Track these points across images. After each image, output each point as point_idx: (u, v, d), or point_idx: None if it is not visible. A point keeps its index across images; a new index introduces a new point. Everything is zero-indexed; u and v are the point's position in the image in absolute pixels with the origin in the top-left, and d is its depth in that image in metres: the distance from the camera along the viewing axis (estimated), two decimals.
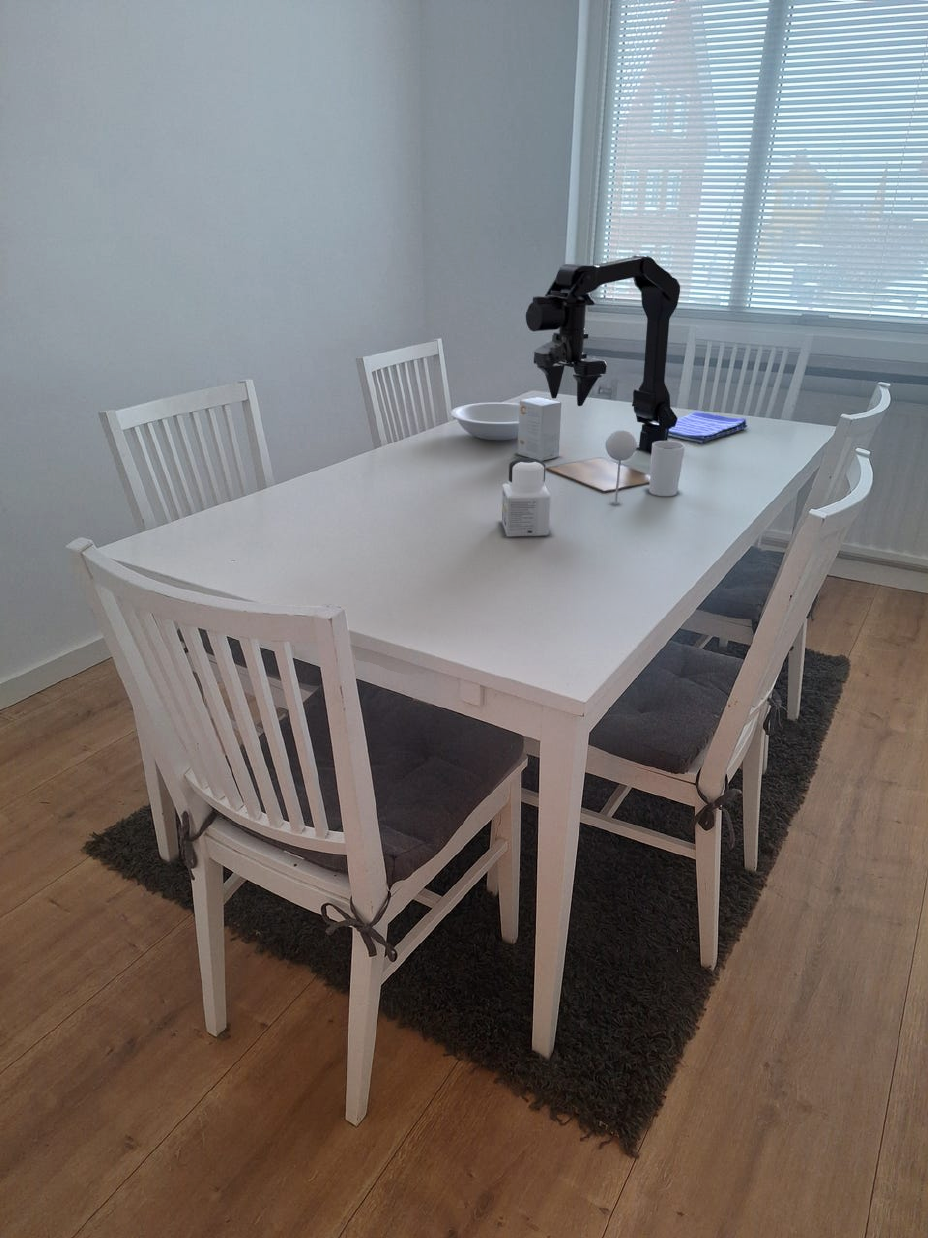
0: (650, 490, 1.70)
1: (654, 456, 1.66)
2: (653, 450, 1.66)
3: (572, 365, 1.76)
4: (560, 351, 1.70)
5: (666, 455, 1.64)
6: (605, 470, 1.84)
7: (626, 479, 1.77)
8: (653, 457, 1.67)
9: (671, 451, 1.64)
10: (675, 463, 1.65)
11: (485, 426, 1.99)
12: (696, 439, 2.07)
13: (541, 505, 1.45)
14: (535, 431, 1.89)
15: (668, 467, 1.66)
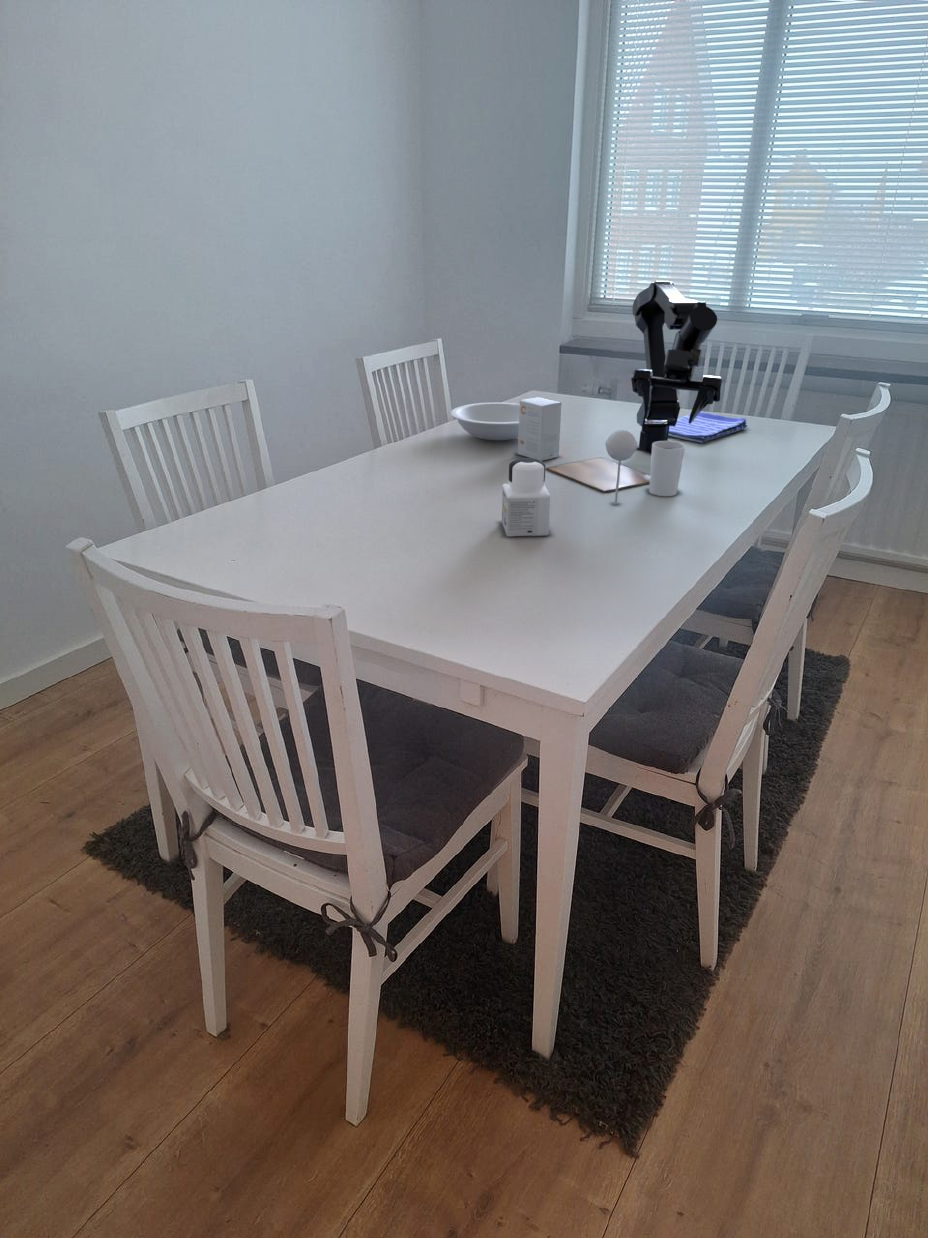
0: (650, 490, 1.70)
1: (654, 456, 1.66)
2: (653, 450, 1.66)
3: (684, 385, 1.72)
4: (700, 356, 1.67)
5: (666, 455, 1.64)
6: (605, 470, 1.84)
7: (626, 479, 1.77)
8: (653, 457, 1.67)
9: (671, 451, 1.64)
10: (675, 463, 1.65)
11: (485, 426, 1.99)
12: (696, 439, 2.07)
13: (541, 505, 1.45)
14: (535, 431, 1.89)
15: (668, 467, 1.66)
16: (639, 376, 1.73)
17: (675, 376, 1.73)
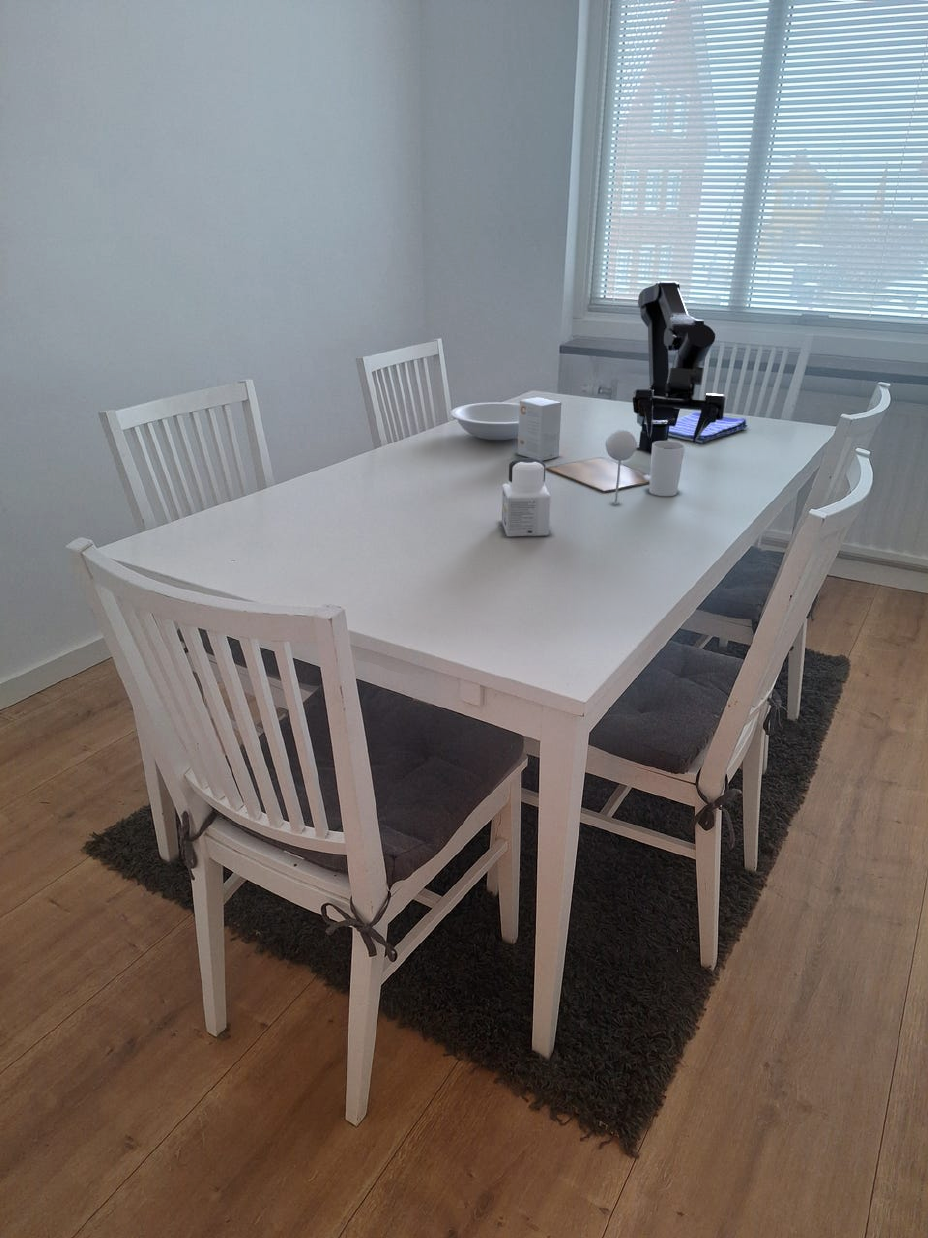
0: (650, 490, 1.70)
1: (654, 456, 1.66)
2: (653, 450, 1.66)
3: (686, 404, 1.71)
4: (702, 374, 1.66)
5: (666, 455, 1.64)
6: (605, 470, 1.84)
7: (626, 479, 1.77)
8: (653, 457, 1.67)
9: (671, 451, 1.64)
10: (675, 463, 1.65)
11: (485, 426, 1.99)
12: None
13: (541, 505, 1.45)
14: (535, 431, 1.89)
15: (668, 467, 1.66)
16: (641, 396, 1.71)
17: (676, 395, 1.71)
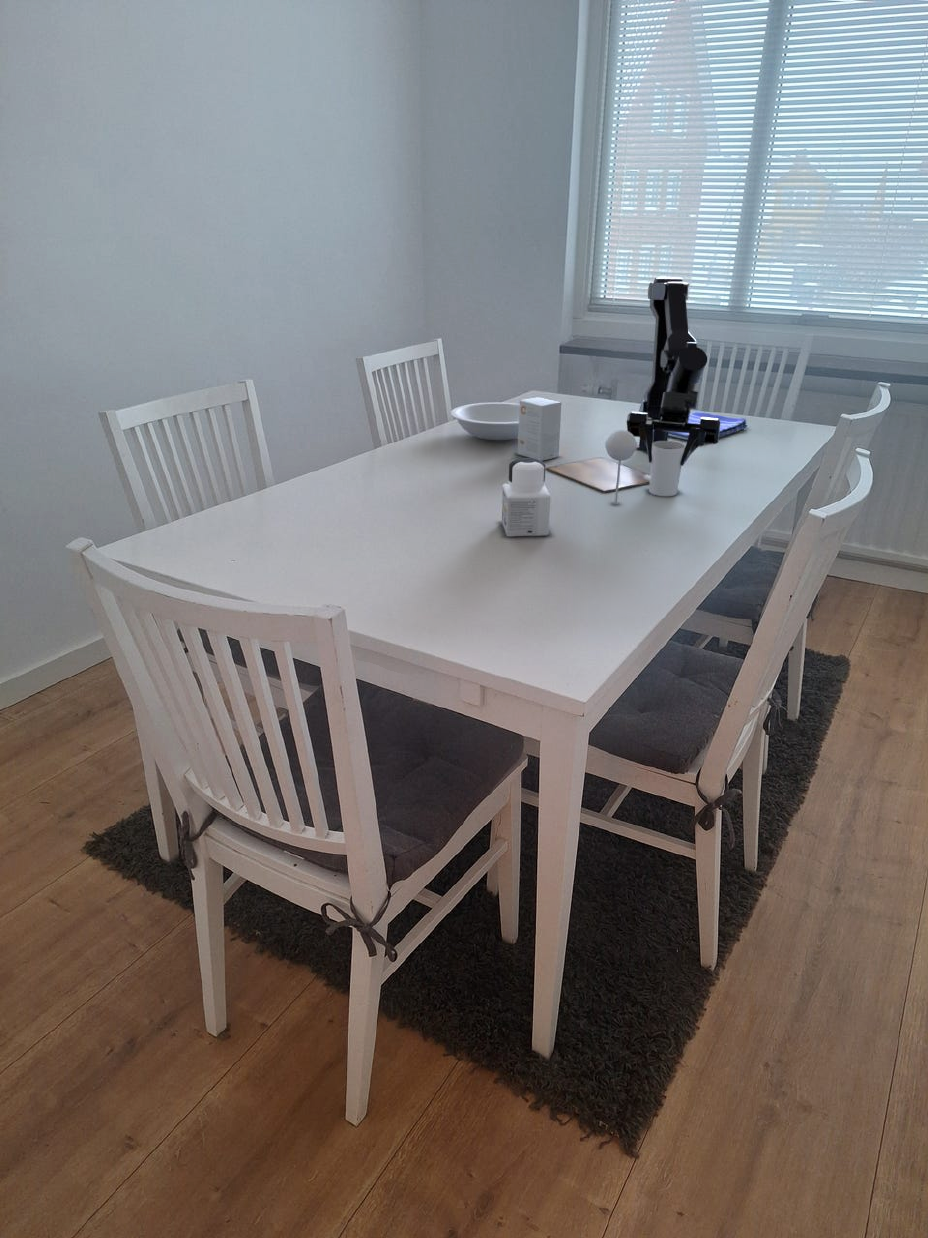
0: (650, 490, 1.70)
1: (654, 456, 1.66)
2: (653, 450, 1.66)
3: (674, 427, 1.69)
4: (697, 398, 1.63)
5: (666, 455, 1.64)
6: (605, 470, 1.84)
7: (626, 479, 1.77)
8: (653, 457, 1.67)
9: (671, 451, 1.64)
10: (675, 463, 1.65)
11: (485, 426, 1.99)
12: None
13: (541, 505, 1.45)
14: (535, 431, 1.89)
15: (668, 467, 1.66)
16: (635, 419, 1.69)
17: (671, 418, 1.69)
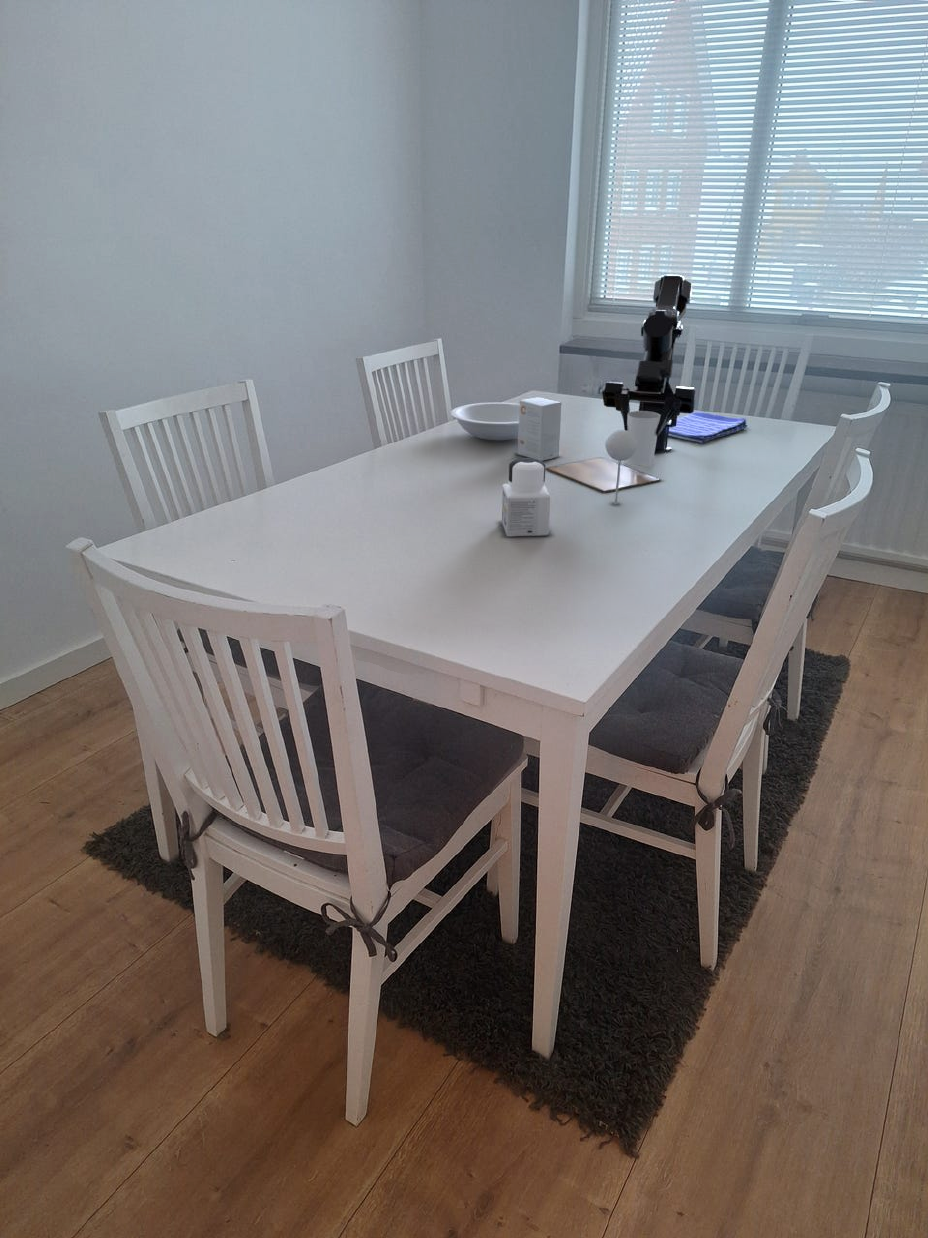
0: (626, 460, 1.70)
1: (630, 426, 1.66)
2: (628, 420, 1.66)
3: (650, 397, 1.68)
4: (672, 367, 1.63)
5: (641, 425, 1.64)
6: (605, 470, 1.84)
7: (626, 479, 1.77)
8: (629, 427, 1.66)
9: (646, 420, 1.63)
10: (650, 433, 1.65)
11: (485, 426, 1.99)
12: (696, 439, 2.07)
13: (541, 505, 1.45)
14: (535, 431, 1.89)
15: (643, 437, 1.65)
16: (610, 389, 1.68)
17: (646, 388, 1.68)
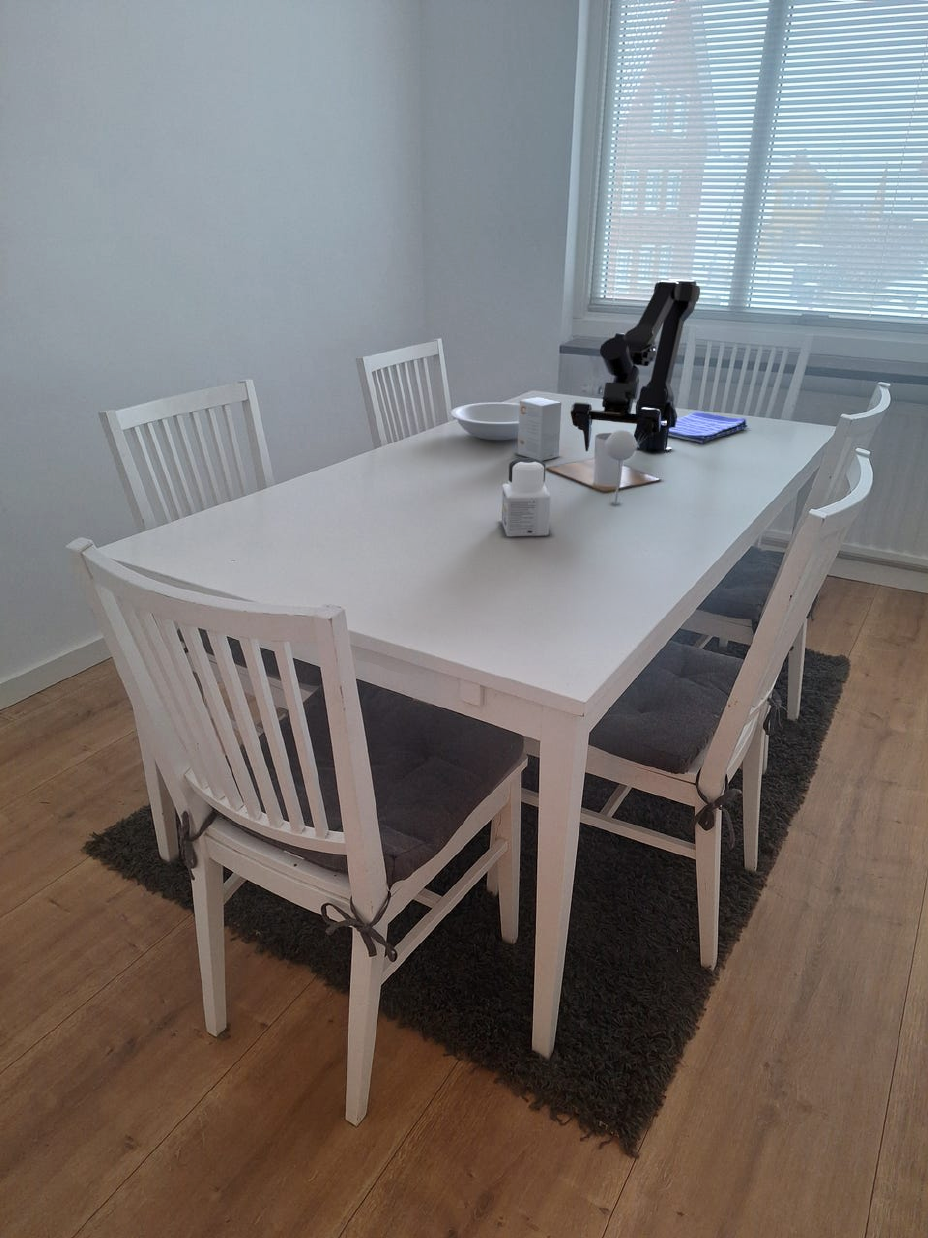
0: (594, 481, 1.75)
1: (597, 447, 1.71)
2: (596, 441, 1.71)
3: (623, 418, 1.72)
4: (637, 389, 1.67)
5: None
6: None
7: (626, 479, 1.77)
8: (596, 448, 1.71)
9: None
10: None
11: (485, 426, 1.99)
12: (696, 439, 2.07)
13: (541, 505, 1.45)
14: (535, 431, 1.89)
15: (609, 459, 1.70)
16: (578, 409, 1.72)
17: (614, 409, 1.73)
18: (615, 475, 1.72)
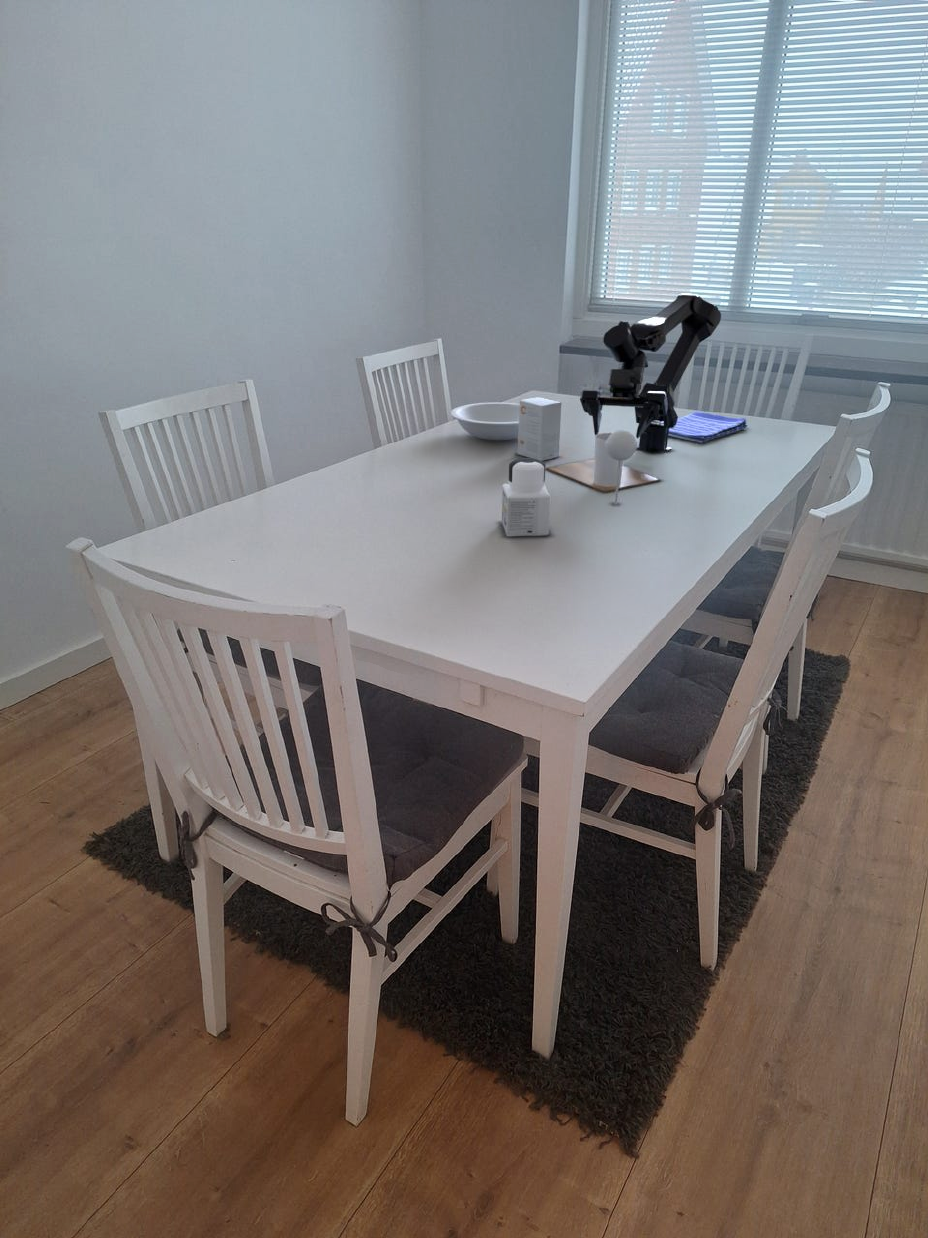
0: (594, 481, 1.75)
1: (597, 447, 1.71)
2: (596, 441, 1.71)
3: (630, 402, 1.79)
4: (642, 373, 1.74)
5: None
6: None
7: (626, 479, 1.77)
8: (596, 448, 1.71)
9: None
10: None
11: (485, 426, 1.99)
12: (696, 439, 2.07)
13: (541, 505, 1.45)
14: (535, 431, 1.89)
15: (609, 459, 1.70)
16: (587, 396, 1.80)
17: (621, 394, 1.80)
18: (615, 475, 1.72)
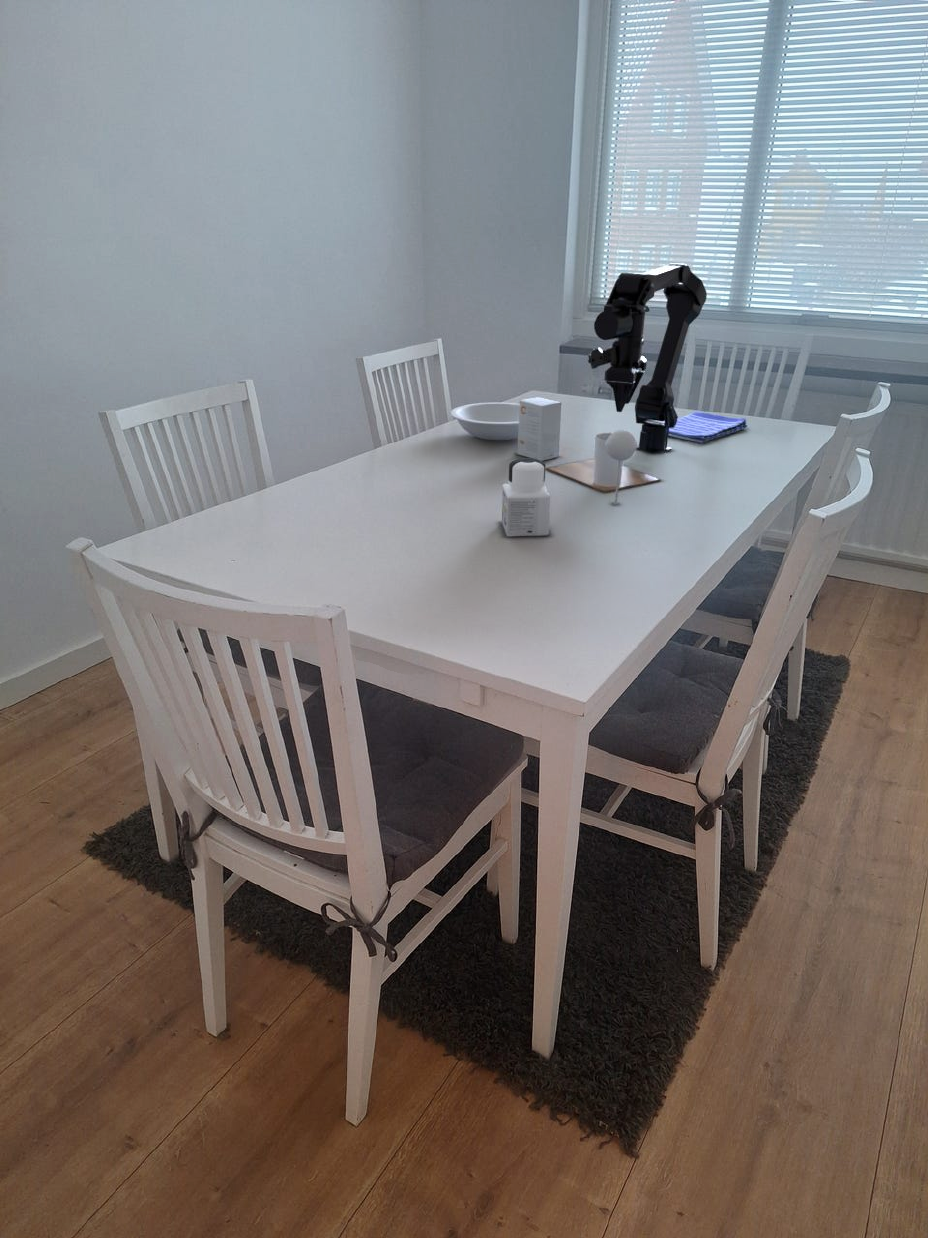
0: (594, 481, 1.75)
1: (597, 447, 1.71)
2: (596, 441, 1.71)
3: None
4: (597, 354, 1.77)
5: None
6: None
7: (626, 479, 1.77)
8: (596, 448, 1.71)
9: None
10: None
11: (485, 426, 1.99)
12: (696, 439, 2.07)
13: (541, 505, 1.45)
14: (535, 431, 1.89)
15: (609, 459, 1.70)
16: None
17: None
18: (615, 475, 1.72)
